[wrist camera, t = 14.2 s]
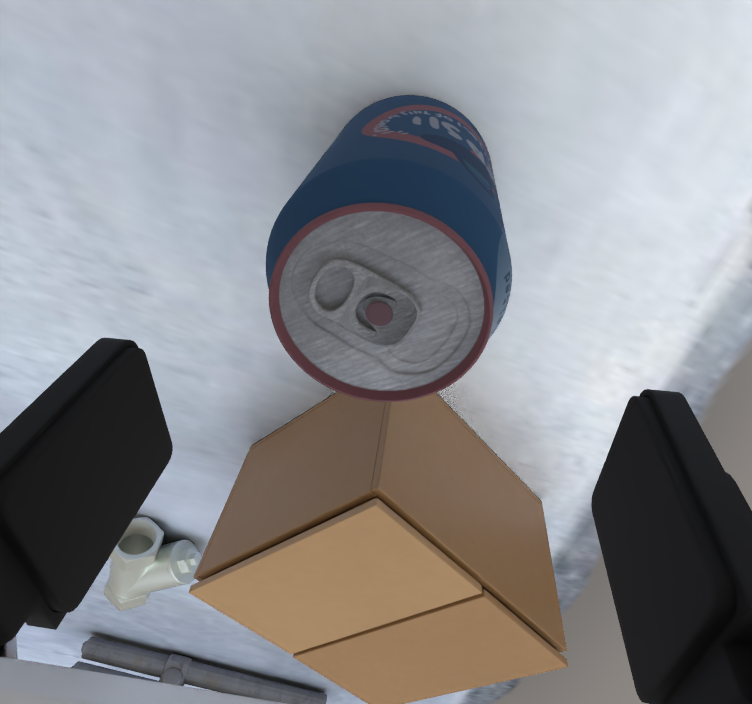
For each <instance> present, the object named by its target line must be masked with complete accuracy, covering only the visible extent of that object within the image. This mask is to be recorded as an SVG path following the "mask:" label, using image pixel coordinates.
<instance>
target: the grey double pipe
mask: <svg viewBox="0 0 752 704" xmlns="http://www.w3.org/2000/svg"><path fill="white" fill-rule="evenodd" d="M81 651H82V658H83V659H87V660H91V661H95V662H99V663H103V664H107V665H111V666H115V667H119V668H123V669H127V670H131V671H135V672H139V673H143V674H147V675H151V676H155V677H159V678H160V680H159V681H157V680H153V679H148V678H144V677H140V676H136V675H132V674H128V673H124V672H120V671H116V670H112V669H108V668H104V667H100V666H96V665H92V664H88V663H84V662H80V661H78V662H77V663H76V664H75V665H74V666H72V667H71V668H75V669H81V670H87V671H93V672H99V673H105V674H112V675H118V676H124V677H130V678H136V679H142V680H148V681H154V682H161V683H167V684H173V685H179V686H183V685H184V684H188V685H192V686H196V687H200V688H204V689H208V690H213V691H217V692H221V693H226V694H232V695H238V696H244V697H250V698H256V699H262V700H268V701H274V702H280V703H286V704H326V699H327V695H326V694H322V693H318V692H314V691H310V690H306V689H302V688H298V687H294V686H290V685H286V684H282V683H278V682H274V681H270V680H266V679H262V678H258V677H254V676H250V675H246V674H242V673H238V672H234V671H230V670H226V669H222V668H218V667H214V666H210V665H206V664H202V663H198V662H194V661H192V658H189V657H185V656H181V655H176V654H171V655H170V656H168V655H164V654H159V653H155V652H151V651H147V650H143V649H139V648H135V647H131V646H127V645H123V644H119V643H115V642H111V641H107V640H103V639H99V638H95V637H91V638H90V639H89V640H88V641H86V642H84V643H83V646H82V649H81Z"/></svg>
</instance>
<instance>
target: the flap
mask: <svg viewBox="0 0 752 704" xmlns="http://www.w3.org/2000/svg"><path fill="white" fill-rule="evenodd" d="M189 593H190V594H192V595H193V596H195V597H197V598H198V599H200V600H202V601H203V602H205V603H207V604H208V605H210V606H212V607H213V608H215V609H217V610H218V611H220V612H222V613H223V614H225V615H227V616H228V617H230V618H232V619H233V620H235V621H237V622H238V623H240V624H242V625H243V626H245V627H247V628H248V629H250V630H251V631H253V632H255V633H256V634H258V635H260V636H261V637H263V638H265V639H266V640H268V641H270V642H271V643H273V644H275V645H276V646H278V647H280V648H281V649H283V650H285V651H286V652H288V653H290V654H294V653H297V652H300V651H303V650H306V649H309V648H312V647H315V646H319V645H322V644H325V643H328V642H331V641H334V640H337V639H340V638H343V637H347V636H350V635H353V634H356V633H359V632H362V631H365V630H368V629H372V628H375V627H378V626H381V625H384V624H387V623H390V622H393V621H396V620H400V619H403V618H406V617H409V616H412V615H415V614H418V613H421V612H424V611H428V610H431V609H434V608H437V607H440V606H443V605H446V604H449V603H453V602H456V601H459V600H462V599H465V598H468V597H471V596H474V595H477V594H481V593H482V585H481V584H480V583H478V582H477V581H476V580H475V579H474V578H472V577H471V576H470V575H469V574H468V573H467V572H465V571H464V570H463V569H462V568H461V567H459V566H458V565H457V564H456V563H455V562H453V561H452V560H451V559H450V558H449V557H447V556H446V555H445V554H444V553H443V552H441V551H440V550H439V549H438V548H437V547H435V546H434V545H433V544H432V543H431V542H429V541H428V540H427V539H426V538H425V537H423V536H422V535H421V534H420V533H419V532H417V531H416V530H415V529H414V528H413V527H412V526H410V525H409V524H408V523H407V522H406V521H404V520H403V519H402V518H401V517H400V516H398V515H397V514H396V513H395V512H394V511H392V510H391V509H390V508H389V507H388V506H386V505H385V504H384V503H383V502H382V501H380V500H379V499H378V498H375V499H373V500H371V501H369V502H366V503H364V504H362V505H360V506H358V507H356V508H354V509H352V510H350V511H347V512H345V513H343V514H341V515H339V516H337V517H335V518H333V519H331V520H328V521H326V522H324V523H322V524H320V525H318V526H316V527H314V528H312V529H309V530H307V531H305V532H303V533H301V534H299V535H297V536H295V537H293V538H290V539H288V540H286V541H284V542H282V543H280V544H278V545H276V546H274V547H272V548H269V549H267V550H265V551H263V552H261V553H259V554H257V555H255V556H253V557H250V558H248V559H246V560H244V561H242V562H240V563H238V564H236V565H234V566H231V567H229V568H227V569H225V570H223V571H221V572H219V573H217V574H215V575H212V576H210V577H208V578H206V579H204V580H202V581H200V582H198V583H196V584H194V585H192V586H191V588H190V590H189Z"/></svg>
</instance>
